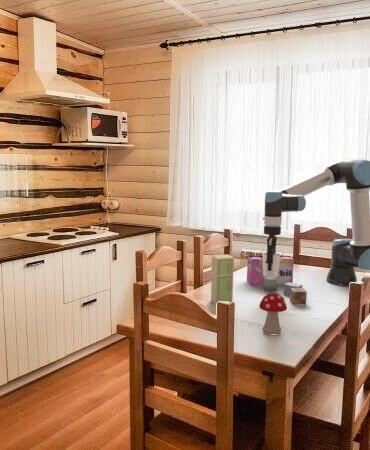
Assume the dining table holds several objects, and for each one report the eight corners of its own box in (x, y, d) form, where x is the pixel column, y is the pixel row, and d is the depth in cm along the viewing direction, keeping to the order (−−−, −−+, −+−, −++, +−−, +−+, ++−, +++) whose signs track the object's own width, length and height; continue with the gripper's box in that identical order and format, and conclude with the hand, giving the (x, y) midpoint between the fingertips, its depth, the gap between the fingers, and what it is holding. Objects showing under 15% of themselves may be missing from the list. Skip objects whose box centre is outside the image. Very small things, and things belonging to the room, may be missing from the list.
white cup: (259, 276, 204) (260, 254, 203) (265, 272, 211) (265, 251, 210) (276, 278, 201) (277, 256, 199) (281, 274, 208) (282, 253, 206)
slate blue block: (301, 295, 215) (302, 284, 214) (297, 297, 211) (297, 286, 210) (288, 292, 219) (288, 282, 218) (283, 294, 215) (284, 284, 214)
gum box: (289, 280, 241) (291, 255, 239) (295, 284, 233) (296, 258, 231) (246, 281, 238) (247, 255, 236) (250, 285, 230) (251, 259, 228)
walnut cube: (303, 300, 206) (303, 288, 205) (305, 305, 200) (306, 291, 199) (289, 300, 206) (290, 287, 205) (292, 304, 200) (293, 291, 199)
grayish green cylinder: (276, 289, 223) (277, 277, 222) (275, 292, 217) (276, 280, 216) (264, 288, 225) (265, 276, 224) (263, 291, 219) (263, 279, 218)
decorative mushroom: (282, 328, 170) (284, 290, 168) (288, 337, 162) (290, 297, 160) (256, 328, 170) (257, 289, 168) (260, 337, 161) (262, 296, 159)
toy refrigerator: (215, 306, 195) (217, 258, 192) (210, 300, 202) (211, 254, 199) (233, 304, 197) (234, 257, 194) (227, 299, 204) (228, 254, 201)
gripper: (266, 222, 213) (265, 269, 217) (261, 228, 194) (259, 279, 197) (283, 222, 211) (281, 270, 214) (278, 229, 192) (276, 281, 195)
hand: (270, 275), depth 206 cm, fingers closed on white cup, 7 cm apart
